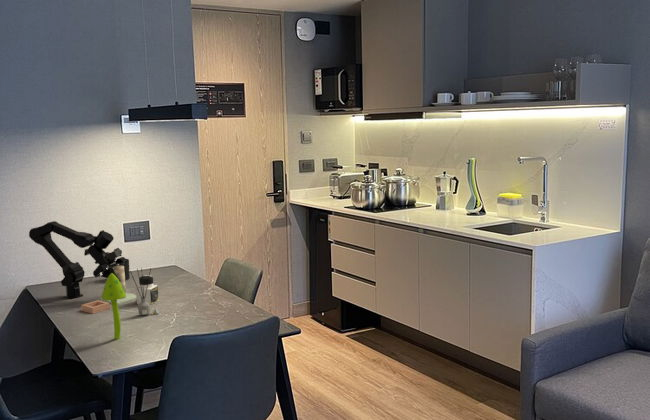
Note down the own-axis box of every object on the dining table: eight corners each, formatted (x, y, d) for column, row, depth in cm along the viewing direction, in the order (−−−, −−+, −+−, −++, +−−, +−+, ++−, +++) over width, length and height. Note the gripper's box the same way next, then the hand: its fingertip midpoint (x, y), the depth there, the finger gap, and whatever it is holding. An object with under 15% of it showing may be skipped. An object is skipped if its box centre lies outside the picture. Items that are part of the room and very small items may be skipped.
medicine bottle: (151, 304, 275) (149, 278, 273) (136, 304, 276) (134, 278, 274) (158, 300, 282) (157, 274, 280) (144, 299, 283) (142, 274, 281)
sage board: (100, 300, 284) (100, 299, 284) (124, 293, 294) (124, 292, 294) (118, 304, 276) (117, 303, 276) (142, 297, 287) (142, 296, 286)
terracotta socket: (81, 310, 269) (81, 305, 269) (98, 305, 276) (98, 300, 276) (93, 313, 264) (92, 308, 264) (110, 308, 271) (109, 303, 271)
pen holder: (112, 278, 326) (110, 259, 324) (130, 276, 328) (129, 258, 326) (110, 282, 317) (108, 263, 315) (129, 280, 319) (128, 261, 317)
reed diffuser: (134, 318, 256) (130, 270, 253) (132, 313, 262) (129, 267, 260) (159, 314, 260) (156, 268, 257) (157, 310, 266) (154, 264, 263)
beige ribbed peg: (114, 298, 283) (112, 267, 281) (118, 295, 287) (115, 265, 285) (124, 297, 283) (122, 267, 281) (127, 295, 287) (125, 265, 285)
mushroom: (123, 333, 238) (118, 269, 235) (132, 338, 232) (127, 272, 228) (101, 338, 233) (96, 273, 229) (110, 344, 226) (105, 277, 223)
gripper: (96, 247, 274) (120, 273, 272) (121, 239, 292) (144, 263, 290) (82, 264, 277) (106, 290, 276) (108, 255, 295) (130, 279, 293)
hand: (122, 280), depth 284 cm, fingers open, 5 cm apart
